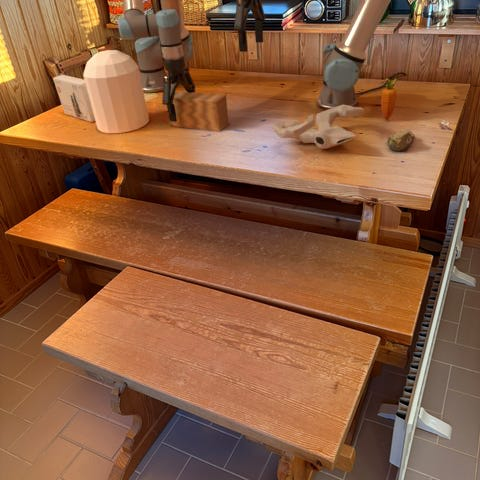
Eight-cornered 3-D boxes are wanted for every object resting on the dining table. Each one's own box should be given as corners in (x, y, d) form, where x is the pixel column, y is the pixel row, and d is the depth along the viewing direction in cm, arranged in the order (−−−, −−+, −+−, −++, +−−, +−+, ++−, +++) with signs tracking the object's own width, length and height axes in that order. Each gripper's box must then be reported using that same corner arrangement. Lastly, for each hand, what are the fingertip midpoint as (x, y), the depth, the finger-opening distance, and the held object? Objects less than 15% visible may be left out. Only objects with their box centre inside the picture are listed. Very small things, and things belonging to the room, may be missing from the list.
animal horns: (271, 156, 148) (270, 121, 142) (282, 128, 169) (280, 95, 163) (362, 157, 142) (365, 119, 136) (361, 127, 163) (363, 93, 157)
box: (171, 126, 180) (166, 97, 173) (181, 119, 185) (176, 91, 179) (219, 131, 171) (216, 101, 165) (228, 124, 176) (225, 94, 170)
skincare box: (63, 114, 202) (52, 77, 193) (74, 110, 205) (63, 74, 196) (91, 122, 190) (80, 83, 181) (101, 118, 193) (91, 80, 184)
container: (103, 137, 175) (82, 61, 159) (92, 121, 191) (73, 50, 175) (155, 125, 181) (141, 50, 166) (141, 110, 198) (127, 41, 182)
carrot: (394, 118, 167) (398, 76, 158) (393, 123, 163) (397, 80, 154) (379, 117, 168) (383, 75, 160) (378, 122, 165) (382, 80, 156)
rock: (408, 140, 153) (379, 139, 152) (414, 122, 149) (384, 120, 148) (421, 154, 144) (391, 153, 143) (428, 135, 140) (396, 133, 139)
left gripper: (163, 67, 157) (173, 127, 169) (199, 49, 174) (206, 105, 186) (145, 66, 160) (156, 125, 172) (182, 49, 177) (190, 104, 189)
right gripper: (241, -17, 141) (246, 55, 153) (272, -28, 158) (274, 38, 171) (219, -16, 144) (226, 55, 156) (252, -27, 161) (256, 38, 174)
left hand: (182, 115), depth 179 cm, fingers open, 12 cm apart
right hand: (251, 46), depth 163 cm, fingers open, 13 cm apart
